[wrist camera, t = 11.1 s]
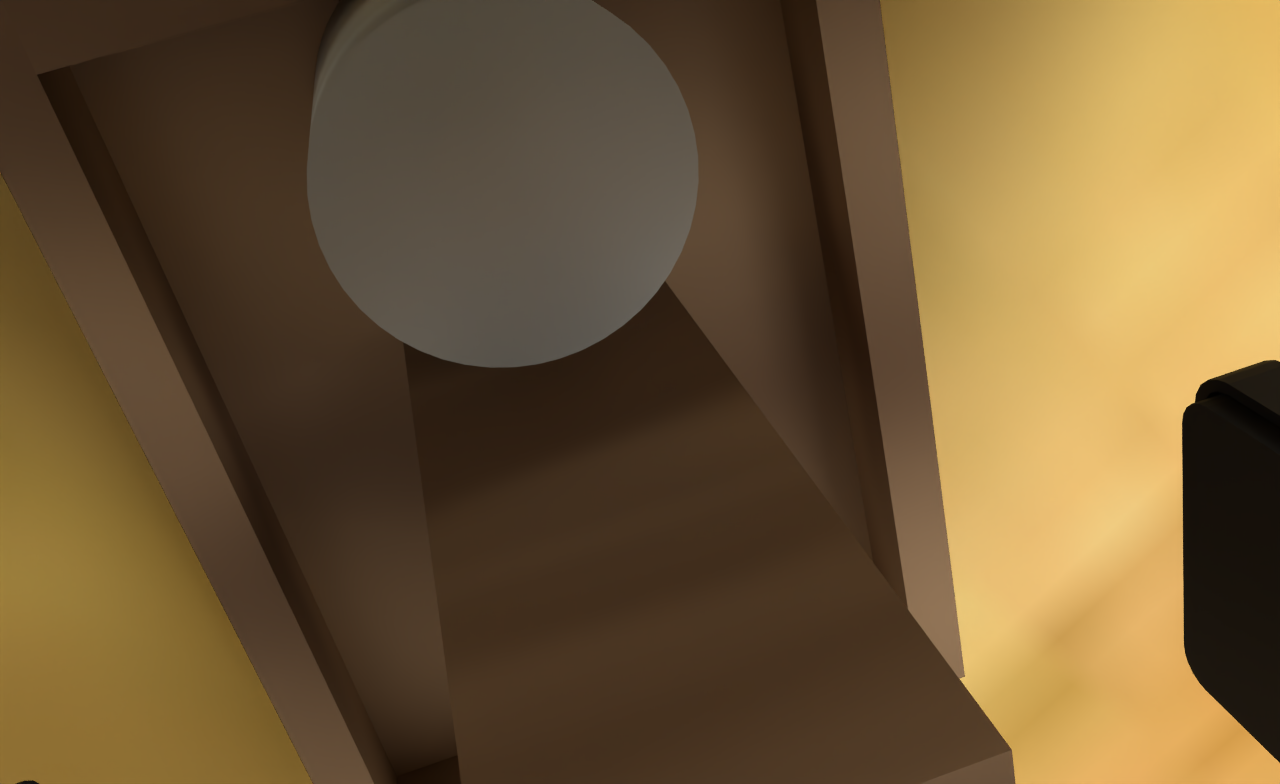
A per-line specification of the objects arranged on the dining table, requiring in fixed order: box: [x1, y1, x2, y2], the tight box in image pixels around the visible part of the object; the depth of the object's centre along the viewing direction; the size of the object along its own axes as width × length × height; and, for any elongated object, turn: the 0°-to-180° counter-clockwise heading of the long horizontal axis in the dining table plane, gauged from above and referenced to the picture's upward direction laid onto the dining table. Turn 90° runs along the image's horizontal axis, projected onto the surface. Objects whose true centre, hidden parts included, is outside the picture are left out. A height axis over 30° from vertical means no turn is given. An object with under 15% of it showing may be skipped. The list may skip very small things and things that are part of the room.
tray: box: [0, 0, 1015, 784], centre depth 11 cm, size 12×9×10 cm
